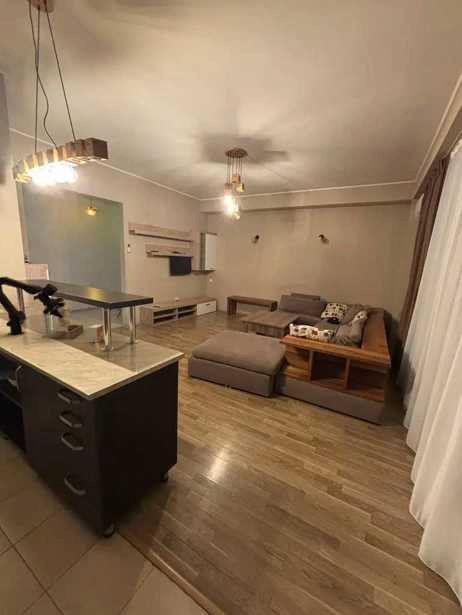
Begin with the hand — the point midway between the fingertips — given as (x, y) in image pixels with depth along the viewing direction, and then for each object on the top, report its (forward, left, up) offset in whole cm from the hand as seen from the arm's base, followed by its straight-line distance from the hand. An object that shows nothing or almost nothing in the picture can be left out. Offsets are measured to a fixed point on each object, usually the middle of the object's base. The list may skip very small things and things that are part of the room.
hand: (64, 316), depth 172 cm
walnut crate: (+3, +1, -13) cm, 13 cm away
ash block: (0, 0, -7) cm, 7 cm away
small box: (+27, +1, -13) cm, 30 cm away
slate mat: (-6, -3, -13) cm, 15 cm away
